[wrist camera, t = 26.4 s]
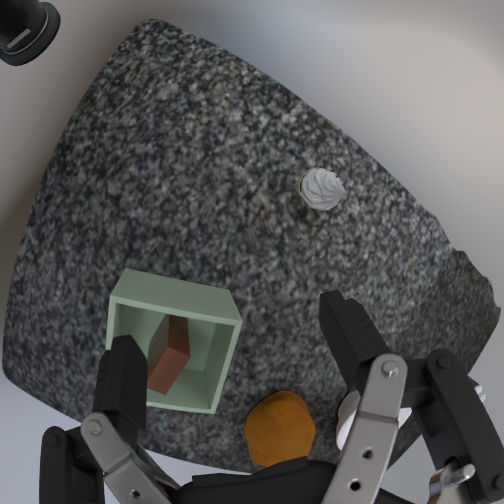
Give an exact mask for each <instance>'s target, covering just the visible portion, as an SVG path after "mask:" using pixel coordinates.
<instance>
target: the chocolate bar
mask: <svg viewBox="0 0 504 504" xmlns="http://www.w3.org/2000/svg"><path fill="white" fill-rule="evenodd" d="M190 358H191V355H190V344H189V332H188V319H187V317H181V316H176V315H171V314H165V316H164V318H163V319H162V321H161V323H160V325H159V326H158V328H157V330H156V331H155V333H154V335H153V337H152V338H151V340H150V342H149V349H148V357H147V364H148V377H147V388H149V389H151V390H153V391H156V392H158V393H161V394H163V395H166V394H167V392H168V391H169V389H170V388H171V386H172V385H173V383H174V382H175V380H176V379H177V377H178V376H179V374H180V373H181V371H182V370H183V368H184V367H185V365H186V364H187V362H188V361H189V359H190Z"/></svg>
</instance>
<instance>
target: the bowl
mask: <svg viewBox="0 0 504 504" xmlns="http://www.w3.org/2000/svg"><path fill="white" fill-rule="evenodd" d="M360 398H361V397H360V395H359V392H358V391H355V392H352V393H349V394H348V395H347V396H346V398H345V399H344V400H343V402H342V403H341V405H340V407H339V410H338V417H339V421H338V424H337V429H336V437H337V446H338V448H339V449H340V450H342V448H343V446H344V443H345V441H346V438H347V436H348V433H349V430H350V427H351V425H352V422H353V419H354V416H355V413H356V410H357V407H358V404H359V401H360ZM411 412H412V410H411V408H402V409H400V411H399V415H398V421H399V428H400V427H401V426H402V424H403V423H404V422H405V421H406V420H407V418H408V417H409V415H410V414H411ZM399 428H398V429H399Z"/></svg>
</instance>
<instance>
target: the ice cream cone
mask: <svg viewBox="0 0 504 504" xmlns="http://www.w3.org/2000/svg"><path fill="white" fill-rule="evenodd" d="M293 188H294V189H295V191H296V192H297V193H298V194H299V195H300V197H301V199H302V200H303V202H304V203H305V204H306V205H307V206H309V207H310V208H313V209H317V210H329V209H330V208H332V207H334V206H335V205H337V203H338V202H339V200H340V198H342V197H343V195H344V194H346V193H347V192H346V191H345V189H344V187H343V186H342V185H341V182H340V179H339V178H336V176H335V173H334V172H328V171H326V170H325V169H322V168H313V169H310V170H309V171H307V172H306V173H305V174H304V175H303V176H302V177H301V178H300V179H299V180H298V181H297V182H296V183H295V184H294V185H293Z"/></svg>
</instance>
